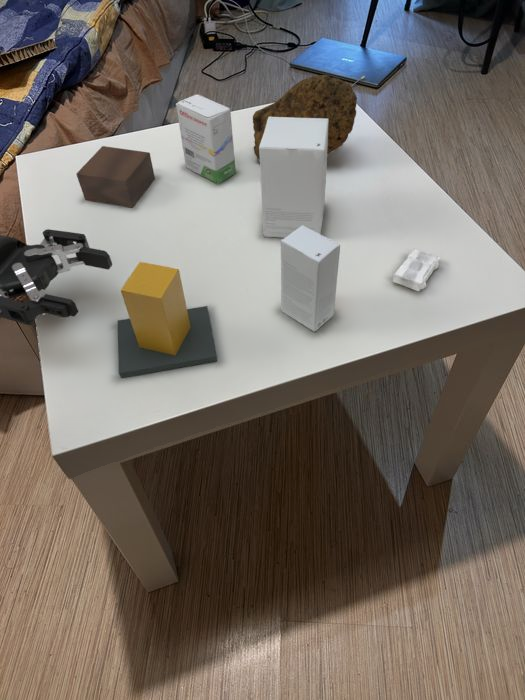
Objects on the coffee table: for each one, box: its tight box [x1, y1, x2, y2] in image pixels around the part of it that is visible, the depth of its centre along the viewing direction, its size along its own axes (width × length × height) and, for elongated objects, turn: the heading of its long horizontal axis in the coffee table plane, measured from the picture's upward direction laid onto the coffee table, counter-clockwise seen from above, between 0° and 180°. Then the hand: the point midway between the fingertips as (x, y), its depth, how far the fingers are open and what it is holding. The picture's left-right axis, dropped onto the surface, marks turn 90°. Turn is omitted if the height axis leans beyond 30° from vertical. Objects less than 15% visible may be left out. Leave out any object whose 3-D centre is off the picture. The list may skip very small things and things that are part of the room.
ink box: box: [175, 93, 237, 185], centre depth 89 cm, size 8×5×12 cm, turn 47°
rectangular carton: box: [259, 117, 328, 239], centre depth 77 cm, size 9×9×15 cm
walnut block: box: [76, 145, 156, 209], centre depth 89 cm, size 9×9×5 cm
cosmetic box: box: [280, 225, 341, 333], centre depth 66 cm, size 6×4×12 cm
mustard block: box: [120, 261, 191, 356], centre depth 63 cm, size 5×5×10 cm
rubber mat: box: [117, 305, 218, 379], centre depth 67 cm, size 12×9×1 cm
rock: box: [252, 74, 358, 160], centre depth 92 cm, size 13×12×20 cm
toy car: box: [392, 248, 441, 292], centre depth 74 cm, size 5×8×2 cm, turn 147°
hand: (93, 284), depth 63 cm, fingers open, 8 cm apart
